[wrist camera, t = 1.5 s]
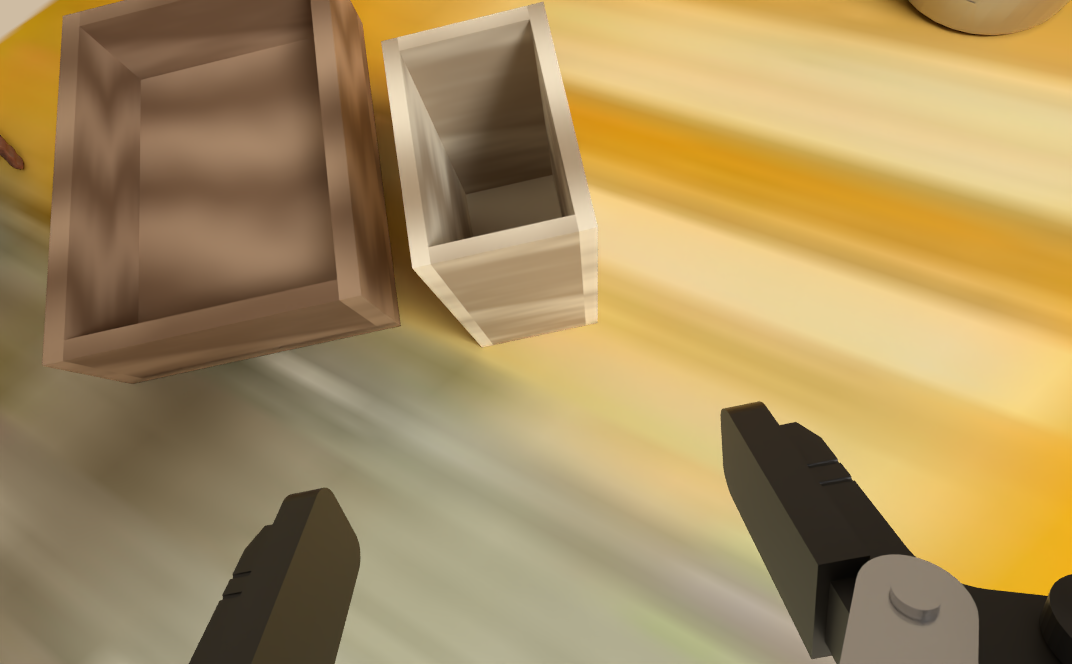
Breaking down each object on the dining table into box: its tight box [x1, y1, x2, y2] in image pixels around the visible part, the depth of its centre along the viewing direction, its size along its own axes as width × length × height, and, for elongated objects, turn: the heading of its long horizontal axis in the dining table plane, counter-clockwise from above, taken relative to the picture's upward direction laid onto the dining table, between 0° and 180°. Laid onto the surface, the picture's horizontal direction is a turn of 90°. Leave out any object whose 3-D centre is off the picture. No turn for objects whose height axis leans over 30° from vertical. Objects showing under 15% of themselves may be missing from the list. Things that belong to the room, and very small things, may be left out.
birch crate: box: [381, 2, 598, 347], centre depth 24 cm, size 9×6×11 cm, turn 11°
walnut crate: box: [42, 0, 400, 384], centre depth 30 cm, size 20×15×5 cm
